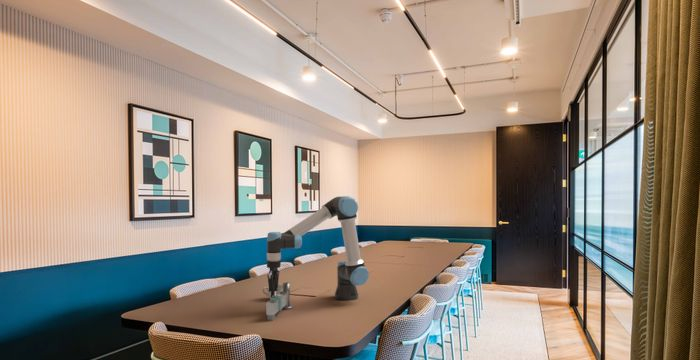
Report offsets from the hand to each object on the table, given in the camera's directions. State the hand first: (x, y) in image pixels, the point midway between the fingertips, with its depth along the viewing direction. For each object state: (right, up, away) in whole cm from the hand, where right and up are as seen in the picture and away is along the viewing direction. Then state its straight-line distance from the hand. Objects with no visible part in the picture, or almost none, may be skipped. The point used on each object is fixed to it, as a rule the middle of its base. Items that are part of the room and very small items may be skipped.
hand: (273, 303), depth 224 cm
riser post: (+6, -5, +10) cm, 12 cm away
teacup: (-5, -7, +30) cm, 31 cm away
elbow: (+4, -4, +1) cm, 6 cm away
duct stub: (+2, -4, -11) cm, 12 cm away
